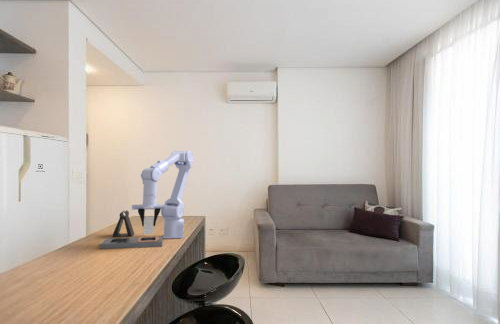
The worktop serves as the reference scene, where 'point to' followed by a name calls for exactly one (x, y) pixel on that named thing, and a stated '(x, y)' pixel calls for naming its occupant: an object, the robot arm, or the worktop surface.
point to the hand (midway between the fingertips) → (148, 225)
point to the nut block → (148, 225)
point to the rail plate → (132, 242)
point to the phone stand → (127, 224)
